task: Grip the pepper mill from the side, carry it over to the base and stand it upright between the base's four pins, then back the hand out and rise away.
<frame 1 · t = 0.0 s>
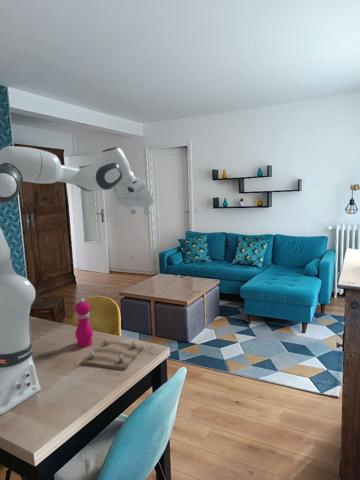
hand: (140, 214, 147), 54 cm above the table, tool tilted 30°, fingers open, 8 cm apart
pin base: (113, 355, 135), on the table
pepper mill: (84, 344, 147), on the table
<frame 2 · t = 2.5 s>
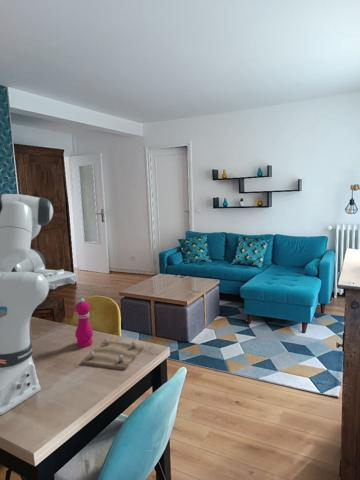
hand: (64, 284, 150), 24 cm above the table, tool horizontal, fingers open, 8 cm apart
nothing on the table moved.
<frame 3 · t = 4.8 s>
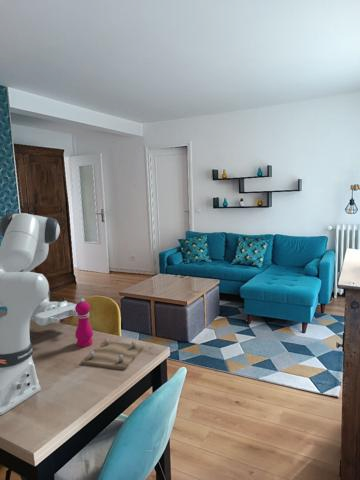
hand: (68, 317, 151), 10 cm above the table, tool horizontal, fingers open, 8 cm apart
nothing on the table moved.
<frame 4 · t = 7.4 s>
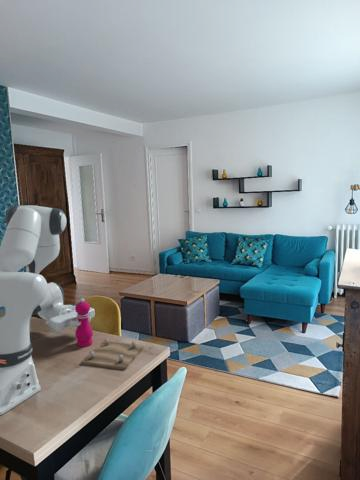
hand: (84, 321, 145), 10 cm above the table, tool horizontal, fingers closed on pepper mill, 4 cm apart
pepper mill: (84, 344, 147), on the table, touching gripper
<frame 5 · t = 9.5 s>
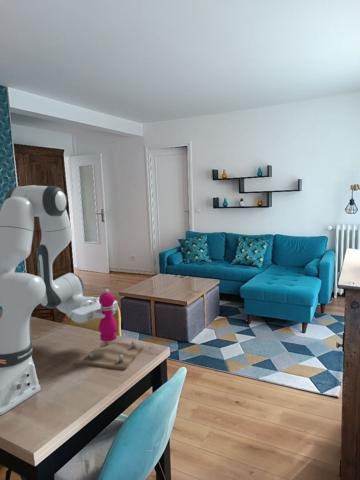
hand: (109, 314, 134), 17 cm above the table, tool horizontal, fingers closed on pepper mill, 4 cm apart
pepper mill: (108, 338, 136), point 6 cm above the table, touching gripper
when the fingers open (13 cm above the table, at t = 11.6 s): pepper mill drops 1 cm, resting on pin base.
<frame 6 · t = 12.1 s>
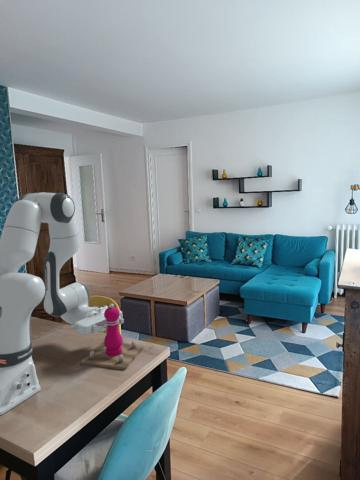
hand: (113, 325, 133), 13 cm above the table, tool horizontal, fingers open, 8 cm apart
pepper mill: (114, 352, 136), point 1 cm above the table, touching pin base
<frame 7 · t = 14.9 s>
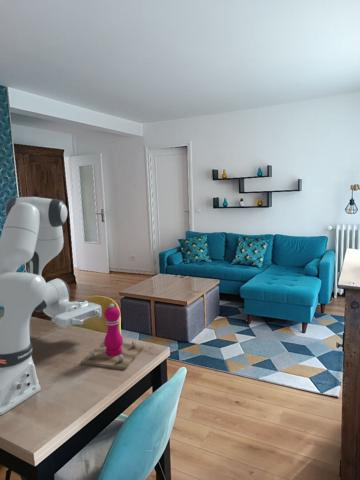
hand: (91, 318, 141), 13 cm above the table, tool horizontal, fingers open, 8 cm apart
nothing on the table moved.
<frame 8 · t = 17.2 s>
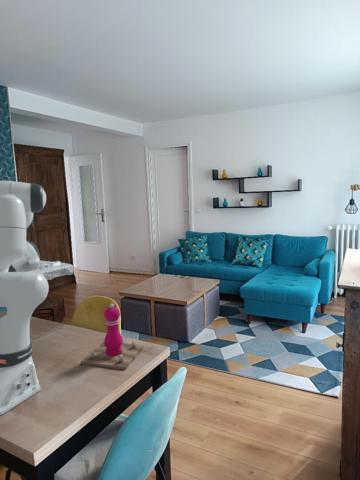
hand: (61, 275, 143), 30 cm above the table, tool horizontal, fingers open, 8 cm apart
nothing on the table moved.
at the end: pepper mill 0.3 cm off-centre on the pin base, point 1.0 cm above the pin base's base; pepper mill tilted 0°; the gripper is holding nothing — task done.
